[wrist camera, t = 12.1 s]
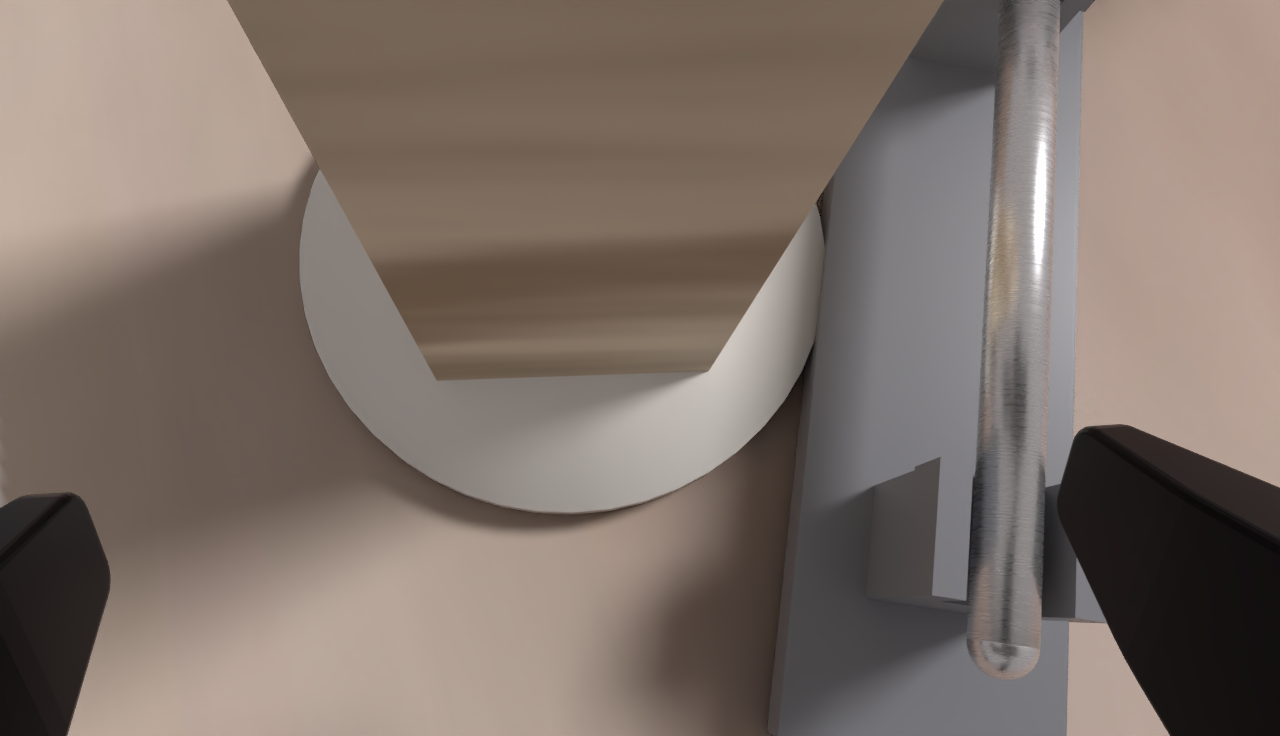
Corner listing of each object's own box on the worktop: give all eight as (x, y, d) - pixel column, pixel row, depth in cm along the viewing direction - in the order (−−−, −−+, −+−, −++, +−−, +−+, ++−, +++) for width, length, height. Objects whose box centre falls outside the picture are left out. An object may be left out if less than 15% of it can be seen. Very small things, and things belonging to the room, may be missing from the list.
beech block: (708, 371, 17) (1134, -301, 4) (437, 380, 16) (39, -342, 4) (689, 129, 18) (977, -933, 6) (436, 132, 18) (133, -1025, 5)
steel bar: (1018, 682, 14) (1052, 688, 13) (953, 672, 14) (983, 677, 13) (1048, -128, 18) (1076, -171, 17) (997, -138, 17) (1023, -181, 17)
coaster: (904, 388, 18) (915, 381, 17) (420, 606, 16) (414, 606, 15) (689, -22, 20) (692, -41, 19) (236, 131, 18) (225, 115, 17)
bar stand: (1041, 772, 16) (1191, 825, 12) (767, 731, 16) (832, 771, 12) (1066, -63, 21) (1180, -214, 17) (854, -103, 21) (921, -265, 17)
